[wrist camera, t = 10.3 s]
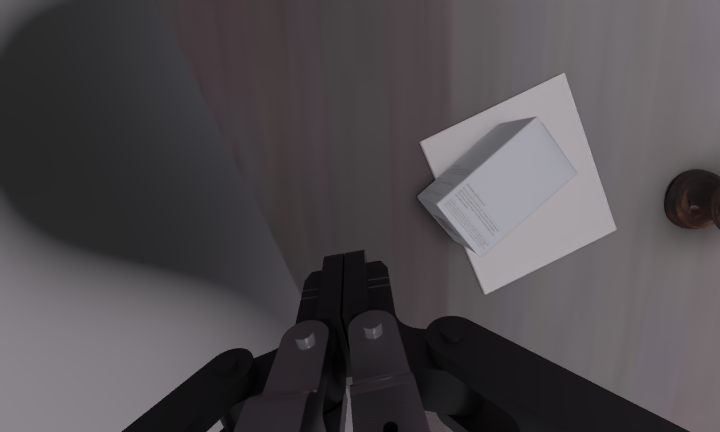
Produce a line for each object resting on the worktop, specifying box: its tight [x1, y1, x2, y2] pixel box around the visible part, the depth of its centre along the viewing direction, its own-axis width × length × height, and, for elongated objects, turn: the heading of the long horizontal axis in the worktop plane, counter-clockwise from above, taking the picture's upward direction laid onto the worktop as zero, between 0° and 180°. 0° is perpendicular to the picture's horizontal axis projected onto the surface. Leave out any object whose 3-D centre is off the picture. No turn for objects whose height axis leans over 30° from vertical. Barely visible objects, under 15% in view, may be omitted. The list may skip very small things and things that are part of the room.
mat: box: [419, 73, 616, 295], centre depth 41 cm, size 20×18×1 cm
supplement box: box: [417, 116, 578, 257], centre depth 37 cm, size 7×7×13 cm
